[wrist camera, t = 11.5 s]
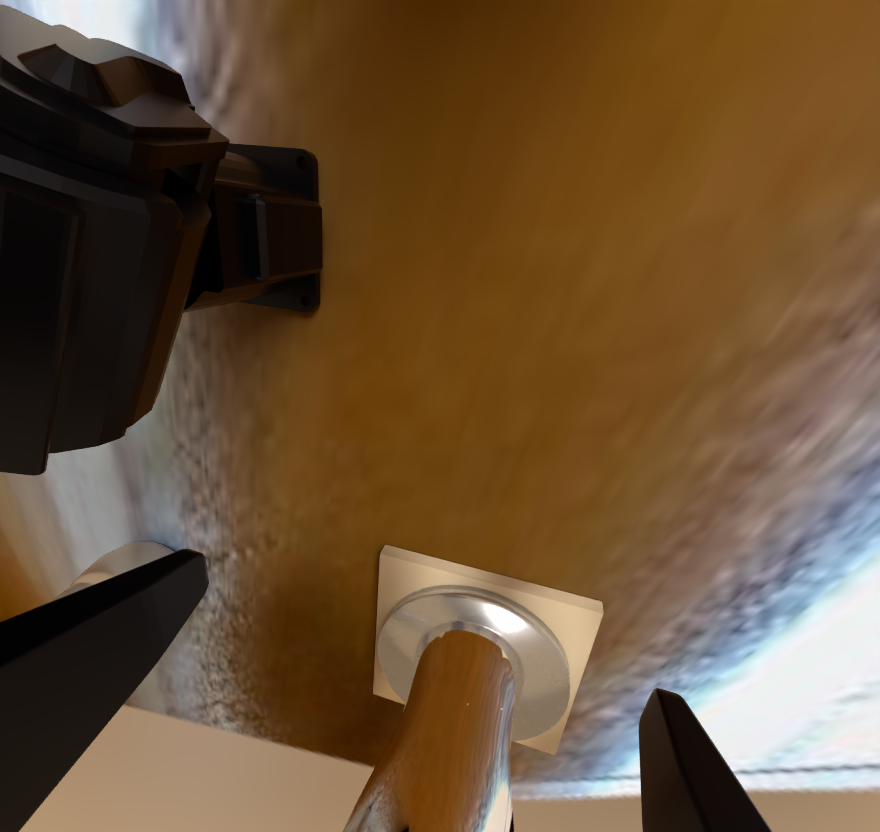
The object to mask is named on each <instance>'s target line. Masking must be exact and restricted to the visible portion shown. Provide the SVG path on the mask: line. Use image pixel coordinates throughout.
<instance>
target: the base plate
mask: <svg viewBox="0 0 880 832" xmlns="http://www.w3.org/2000/svg"><path fill="white" fill-rule="evenodd" d="M438 585H464V586H472V587H477V588H481V589H485V590H488V591H492V592H495V593H498V594H500V595H502V596H505V597H507V598H509V599H511V600H513V601H515V602H517V603H519V604H520V605H522V606H524V607H525V608H527V609H528V610H529V611H531V612H532V613H534V614H535V615H536V616H537V617H538V618H540V619H541V620H542V621H543V622H544V623H545V624H546V625H547V626H548V627H549V628H550V629H551V630H552V632H553V633H554V634H555V636H556V637H557V639H558V640H559V641H560V643H561V645H562V647H563V649H564V651H565V654H566V656H567V659H568V663H569V669H570V698H569V703H568V707H567V709H566V711H565V713H564V715H563V716H562V718H561V719H560V720H559V722H558V723H556V724H555V725H554V726H553V727H552V728H551V729H549V730H548V731H546V732H544V733H542V734H540V735H538V736H536V737H533V738H529V739H526V740H521V741H514V742H517V743H520V744H523V745H526V746H529V747H532V748H535V749H538V750H541V751H544V752H547V753H550V754H553V755H555V754H556V751H557V748H558V745H559V742H560V739H561V736H562V734H563V731H564V728H565V725H566V722H567V719H568V716H569V713H570V710H571V707H572V704H573V701H574V698H575V695H576V692H577V690H578V687H579V684H580V681H581V678H582V675H583V672H584V669H585V666H586V663H587V660H588V657H589V654H590V651H591V648H592V646H593V643H594V640H595V637H596V634H597V631H598V628H599V625H600V622H601V619H602V616H603V605H602V602H601V601H597V600H594V599H590V598H586V597H582V596H578V595H575V594H571V593H567V592H563V591H559V590H556V589H552V588H548V587H544V586H540V585H537V584H533V583H529V582H525V581H521V580H518V579H514V578H510V577H506V576H502V575H499V574H495V573H491V572H487V571H483V570H480V569H476V568H472V567H468V566H465V565H461V564H457V563H453V562H449V561H446V560H442V559H438V558H434V557H430V556H427V555H423V554H419V553H415V552H411V551H408V550H404V549H400V548H396V547H392V546H389V545H385V546H384V548H383V549H382V551H381V553H380V564H379V584H378V604H377V624H376V645H375V665H374V685H373V694H375V695H378V696H381V697H384V698H387V699H390V700H393V701H396V702H399V703H402V704H406V703H405V702H404V701H403V700H402V699H401V698H400V697H399V696H398V695H397V694H396V693H395V691H394V690H393V689H392V687H391V686H390V684H389V683H388V681H387V680H386V678H385V676H384V674H383V672H382V669H381V666H380V663H379V658H378V640H379V636H380V633H381V630H382V628H383V626H384V624H385V622H386V619H387V617H388V615H389V614H390V612H391V610H392V609H393V608H394V606H395V605H396V604H397V603H398V602H399V601H400V600H402V599H403V598H404V597H406V596H407V595H409V594H411V593H413V592H415V591H418V590H420V589H423V588H427V587H432V586H438Z"/></svg>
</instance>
